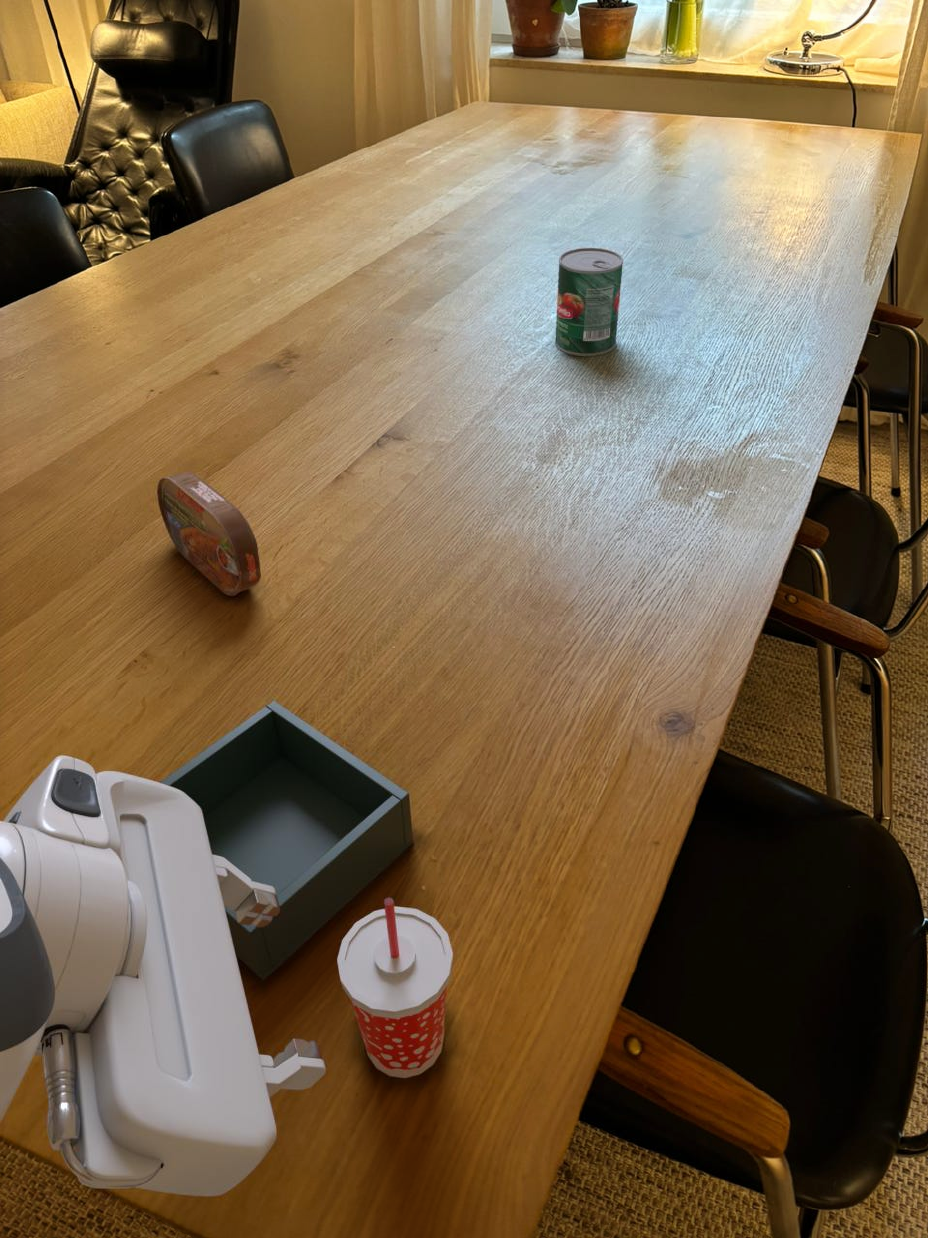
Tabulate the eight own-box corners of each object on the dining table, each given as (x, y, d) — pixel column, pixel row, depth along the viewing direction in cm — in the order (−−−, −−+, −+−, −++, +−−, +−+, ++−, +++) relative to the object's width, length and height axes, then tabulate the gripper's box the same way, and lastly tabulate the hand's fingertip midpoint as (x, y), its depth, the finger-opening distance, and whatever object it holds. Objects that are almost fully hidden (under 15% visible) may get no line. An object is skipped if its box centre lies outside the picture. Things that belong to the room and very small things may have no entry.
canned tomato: (542, 342, 129) (545, 258, 122) (583, 324, 133) (589, 242, 126) (587, 362, 124) (592, 276, 117) (628, 343, 128) (636, 258, 121)
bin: (263, 981, 61) (250, 933, 58) (134, 862, 68) (114, 813, 65) (413, 842, 69) (409, 793, 66) (283, 748, 76) (273, 699, 72)
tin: (164, 539, 97) (145, 464, 92) (193, 526, 99) (176, 453, 93) (243, 613, 88) (226, 536, 83) (273, 598, 90) (259, 521, 84)
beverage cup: (354, 993, 60) (330, 854, 51) (454, 987, 61) (448, 847, 52) (350, 1094, 56) (323, 961, 47) (459, 1088, 56) (453, 954, 47)
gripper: (102, 1135, 34) (392, 1144, 43) (60, 729, 49) (283, 799, 57) (6, 1236, 36) (304, 1224, 45) (-7, 814, 50) (219, 869, 59)
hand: (291, 982), depth 51 cm, fingers open, 8 cm apart
